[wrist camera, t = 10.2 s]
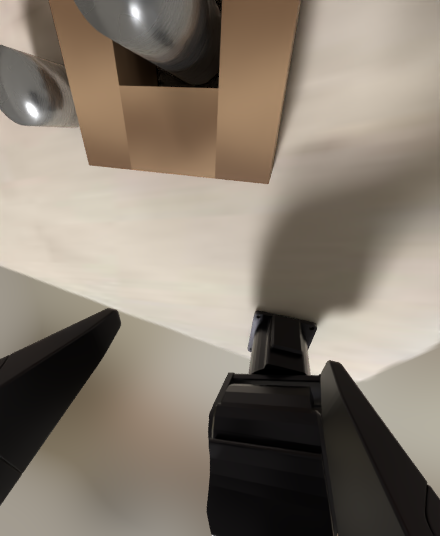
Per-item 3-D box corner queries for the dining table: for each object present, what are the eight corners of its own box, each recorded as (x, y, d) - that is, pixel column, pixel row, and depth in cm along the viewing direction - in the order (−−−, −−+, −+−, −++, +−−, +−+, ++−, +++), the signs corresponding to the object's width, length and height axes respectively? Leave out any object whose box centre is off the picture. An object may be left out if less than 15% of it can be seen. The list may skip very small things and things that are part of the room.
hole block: (271, 173, 16) (268, 184, 12) (128, 159, 18) (89, 165, 14) (336, -204, 9) (377, -466, 5) (80, -154, 11) (-28, -310, 7)
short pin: (92, 129, 18) (49, 127, 14) (52, 126, 18) (2, 124, 15) (78, 63, 16) (23, 43, 12) (33, 63, 16) (-31, 44, 13)
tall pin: (224, 85, 14) (173, 40, 7) (168, 84, 15) (76, 41, 8) (229, -7, 12) (164, -186, 5) (163, -4, 13) (33, -160, 6)
